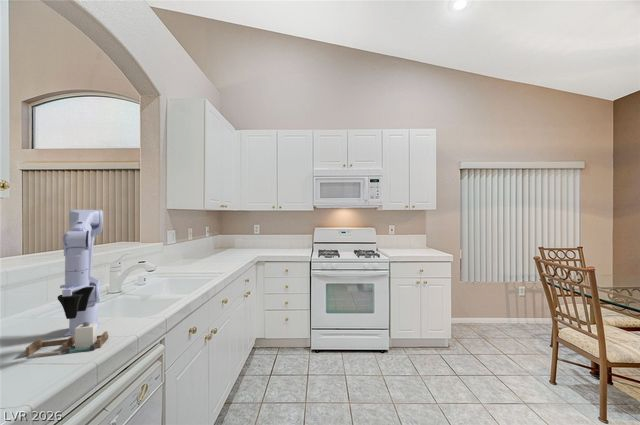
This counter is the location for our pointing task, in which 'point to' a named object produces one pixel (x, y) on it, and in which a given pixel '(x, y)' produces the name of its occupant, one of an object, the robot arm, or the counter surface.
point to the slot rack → (66, 346)
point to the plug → (85, 335)
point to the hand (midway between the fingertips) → (76, 314)
